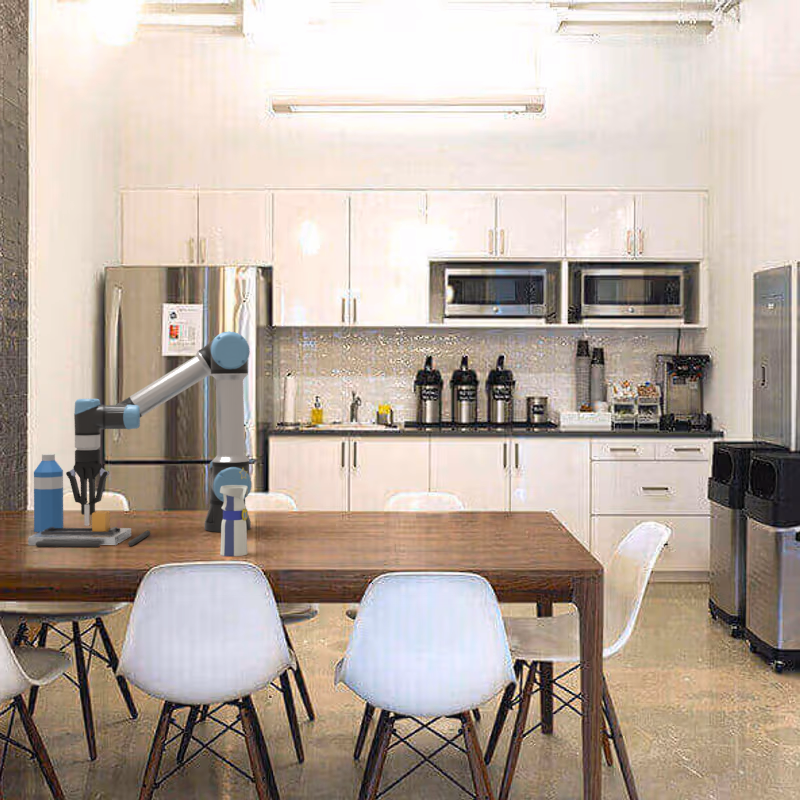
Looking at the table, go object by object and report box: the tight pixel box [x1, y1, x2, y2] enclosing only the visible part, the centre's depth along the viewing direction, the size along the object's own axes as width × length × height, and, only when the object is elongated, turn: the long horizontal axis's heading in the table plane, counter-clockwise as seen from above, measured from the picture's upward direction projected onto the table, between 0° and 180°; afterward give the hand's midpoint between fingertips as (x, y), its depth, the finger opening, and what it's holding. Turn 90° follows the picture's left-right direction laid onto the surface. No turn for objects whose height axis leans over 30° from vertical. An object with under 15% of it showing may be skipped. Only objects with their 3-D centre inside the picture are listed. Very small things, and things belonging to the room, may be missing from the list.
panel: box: [27, 526, 132, 546], centre depth 311 cm, size 26×18×4 cm
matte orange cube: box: [91, 510, 111, 531], centre depth 311 cm, size 4×5×6 cm
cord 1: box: [35, 541, 101, 548], centre depth 300 cm, size 19×2×2 cm, turn 90°
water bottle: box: [33, 453, 64, 533], centre depth 331 cm, size 9×9×25 cm
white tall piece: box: [219, 468, 249, 557], centre depth 289 cm, size 8×9×25 cm
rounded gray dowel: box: [127, 530, 151, 547], centre depth 311 cm, size 21×2×2 cm, turn 0°
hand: (88, 525), depth 311 cm, fingers closed
